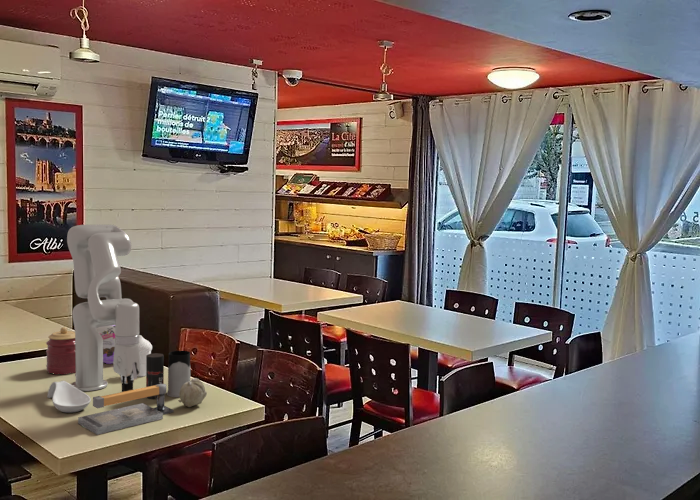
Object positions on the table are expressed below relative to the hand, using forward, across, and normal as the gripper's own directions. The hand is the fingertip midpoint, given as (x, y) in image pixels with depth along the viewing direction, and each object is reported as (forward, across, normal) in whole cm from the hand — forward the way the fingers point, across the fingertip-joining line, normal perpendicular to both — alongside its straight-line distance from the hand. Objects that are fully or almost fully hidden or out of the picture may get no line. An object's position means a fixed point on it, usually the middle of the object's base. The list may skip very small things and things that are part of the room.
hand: (127, 394), depth 225 cm
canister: (+6, -62, +5) cm, 62 cm away
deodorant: (+6, -9, +15) cm, 18 cm away
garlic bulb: (+6, +9, +19) cm, 22 cm away
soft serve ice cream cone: (+6, -37, +25) cm, 45 cm away
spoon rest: (+6, -19, -12) cm, 24 cm away
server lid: (+6, +7, -6) cm, 11 cm away
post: (+6, +7, +8) cm, 12 cm away
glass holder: (+6, -9, +25) cm, 27 cm away
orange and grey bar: (-1, +7, -2) cm, 8 cm away
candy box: (+6, -63, +25) cm, 68 cm away
